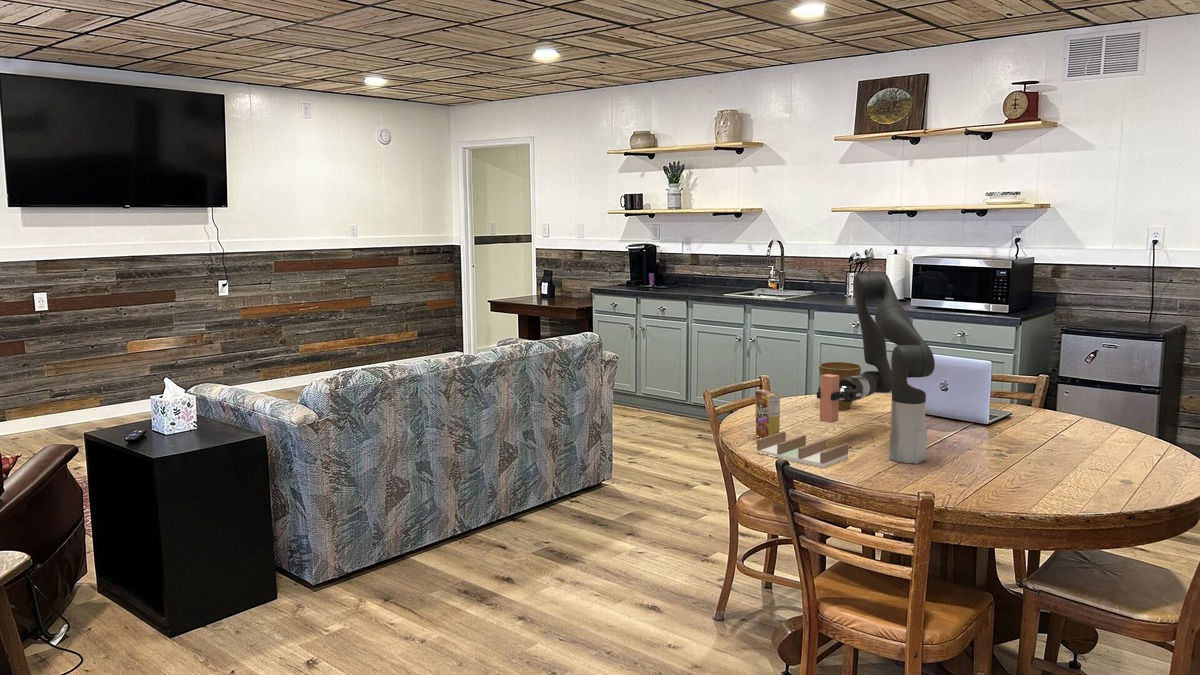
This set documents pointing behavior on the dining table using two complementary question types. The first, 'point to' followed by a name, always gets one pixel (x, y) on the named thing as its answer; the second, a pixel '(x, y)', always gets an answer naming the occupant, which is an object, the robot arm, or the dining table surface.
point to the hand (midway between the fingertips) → (825, 396)
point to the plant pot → (840, 374)
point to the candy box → (767, 413)
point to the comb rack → (802, 450)
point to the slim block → (829, 398)
